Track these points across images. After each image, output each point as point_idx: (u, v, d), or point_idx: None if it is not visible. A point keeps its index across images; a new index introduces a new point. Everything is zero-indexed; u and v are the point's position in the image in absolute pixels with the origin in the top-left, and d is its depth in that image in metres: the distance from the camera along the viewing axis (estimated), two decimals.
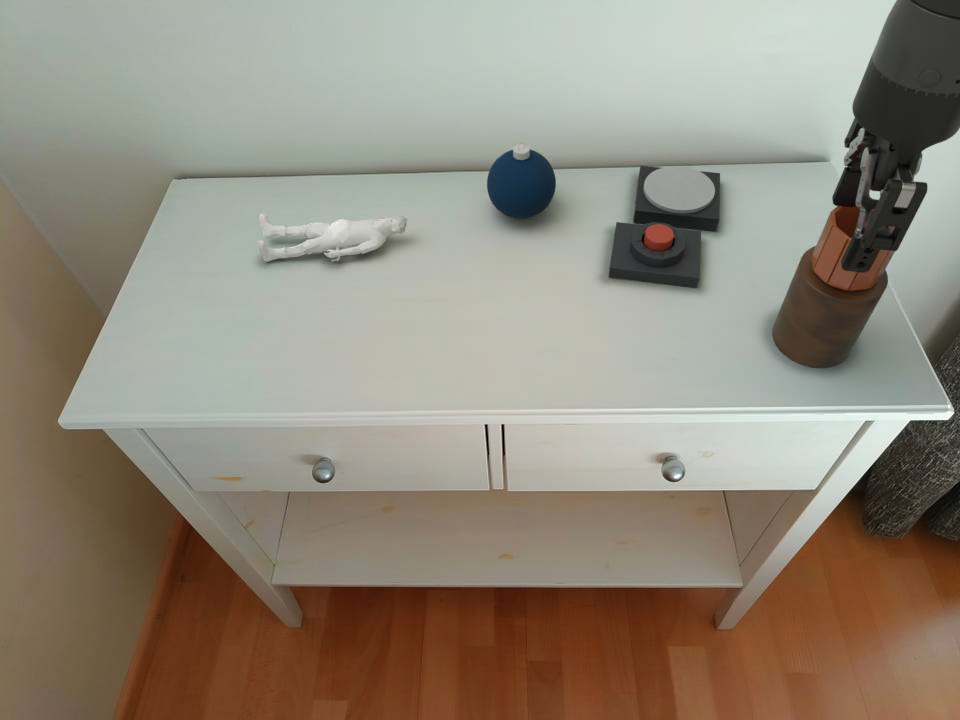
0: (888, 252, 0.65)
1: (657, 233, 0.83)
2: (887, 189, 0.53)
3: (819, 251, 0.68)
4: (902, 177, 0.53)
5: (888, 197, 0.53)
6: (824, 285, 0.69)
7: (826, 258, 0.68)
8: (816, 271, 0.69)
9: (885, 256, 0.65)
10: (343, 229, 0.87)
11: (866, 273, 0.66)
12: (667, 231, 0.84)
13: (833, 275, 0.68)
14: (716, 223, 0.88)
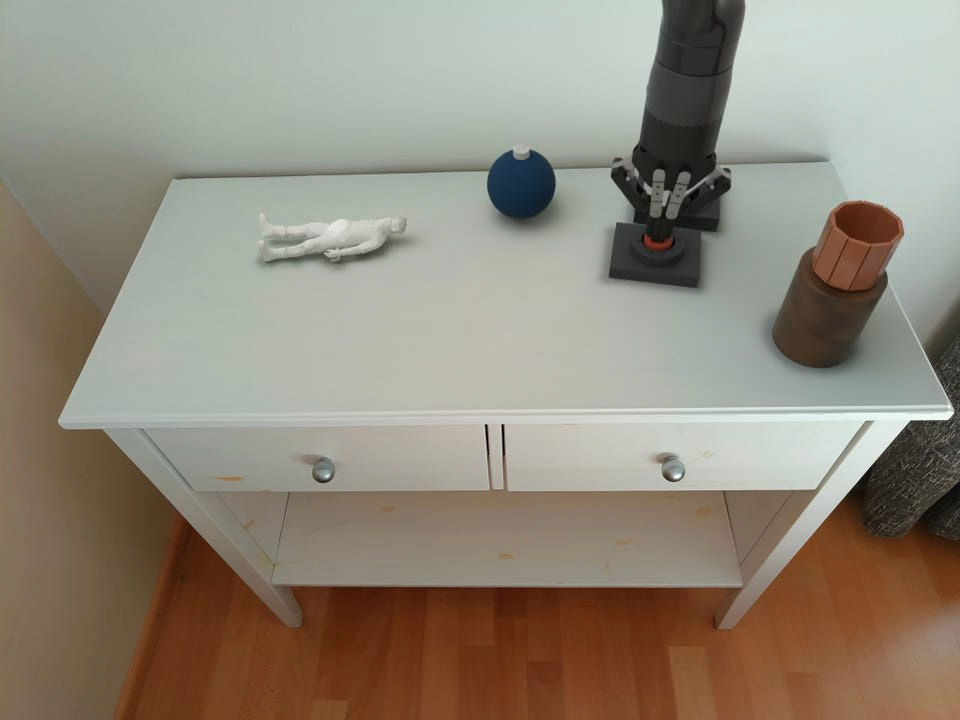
0: (888, 252, 0.65)
1: None
2: None
3: (819, 251, 0.68)
4: (621, 161, 0.77)
5: None
6: (824, 285, 0.69)
7: (826, 258, 0.68)
8: (816, 271, 0.69)
9: (885, 256, 0.65)
10: (343, 229, 0.87)
11: (866, 273, 0.66)
12: None
13: (833, 275, 0.68)
14: (716, 223, 0.88)
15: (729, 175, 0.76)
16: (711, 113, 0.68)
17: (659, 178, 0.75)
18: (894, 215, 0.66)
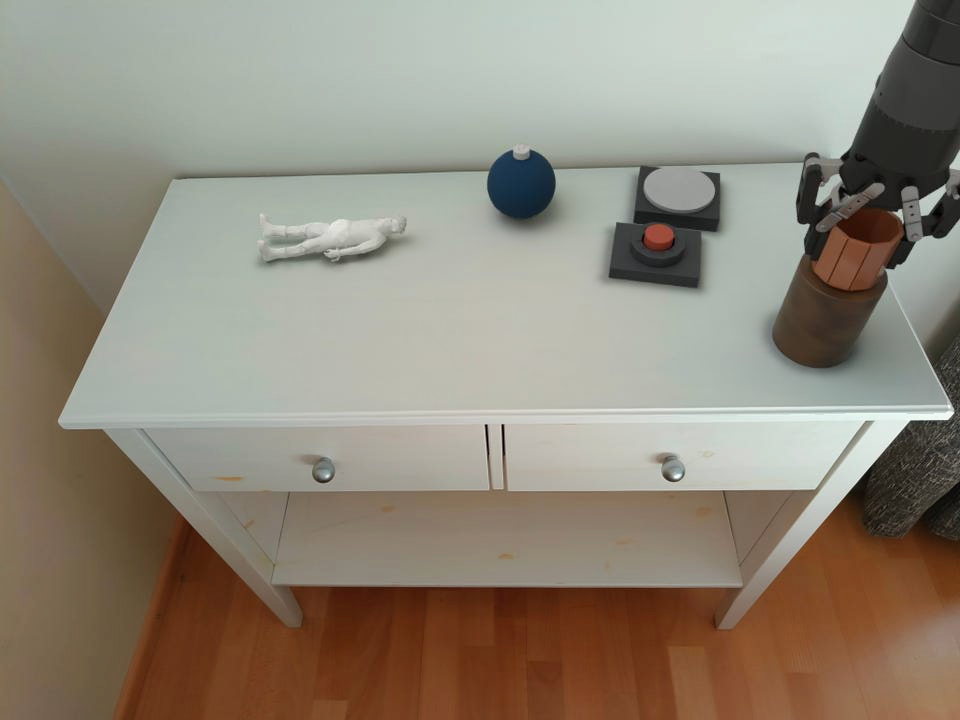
0: (888, 252, 0.65)
1: (657, 233, 0.83)
2: None
3: None
4: (823, 159, 0.62)
5: None
6: (824, 285, 0.69)
7: (826, 258, 0.68)
8: (816, 271, 0.69)
9: (885, 256, 0.65)
10: (343, 229, 0.87)
11: (866, 273, 0.66)
12: (667, 231, 0.84)
13: (833, 275, 0.68)
14: (716, 223, 0.88)
15: None
16: None
17: (871, 193, 0.61)
18: (894, 215, 0.66)
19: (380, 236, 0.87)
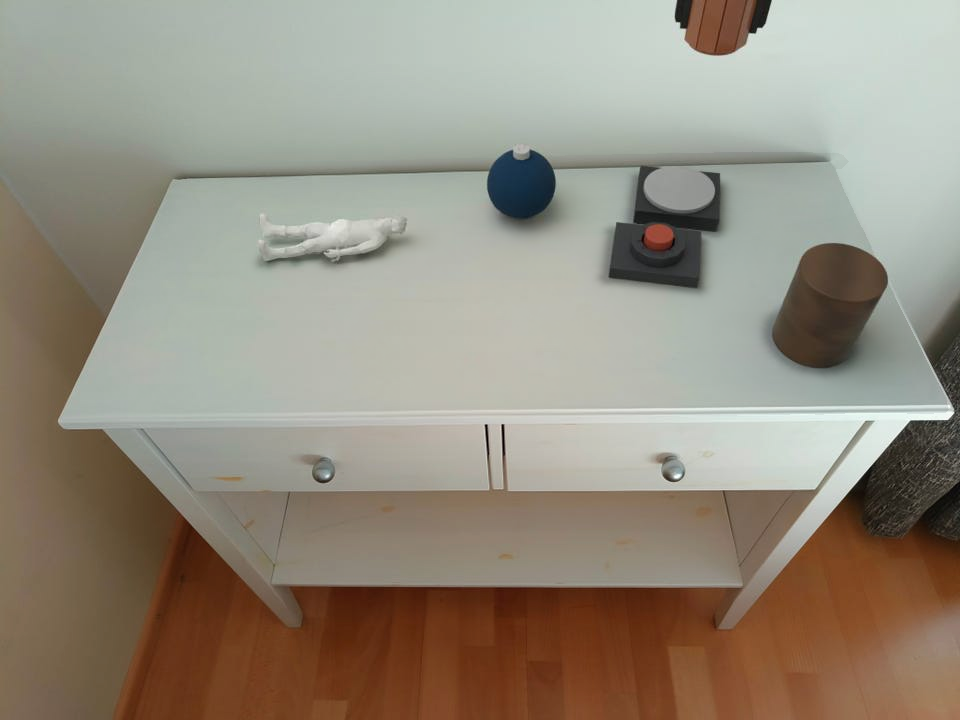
0: (745, 6, 0.70)
1: (657, 233, 0.83)
2: None
3: None
4: None
5: None
6: (824, 285, 0.69)
7: (693, 22, 0.72)
8: (687, 39, 0.74)
9: (743, 11, 0.70)
10: (343, 229, 0.87)
11: (728, 32, 0.71)
12: (667, 231, 0.84)
13: (700, 38, 0.73)
14: (716, 223, 0.88)
15: None
16: None
17: None
18: None
19: (380, 236, 0.87)
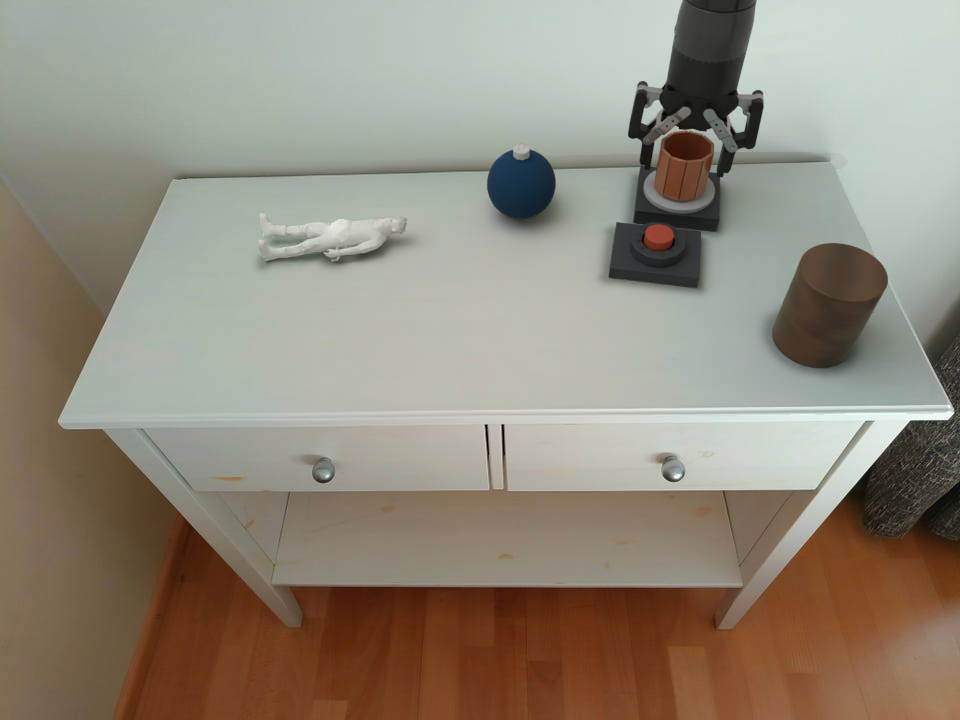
0: (701, 167, 0.85)
1: (657, 233, 0.83)
2: None
3: (656, 170, 0.89)
4: (649, 87, 0.82)
5: None
6: (824, 285, 0.69)
7: (660, 175, 0.88)
8: (655, 187, 0.90)
9: (700, 171, 0.85)
10: (343, 229, 0.87)
11: (688, 185, 0.87)
12: (667, 231, 0.84)
13: (665, 188, 0.88)
14: (716, 223, 0.88)
15: (758, 95, 0.79)
16: (735, 49, 0.73)
17: (681, 115, 0.81)
18: (709, 140, 0.86)
19: (380, 236, 0.87)
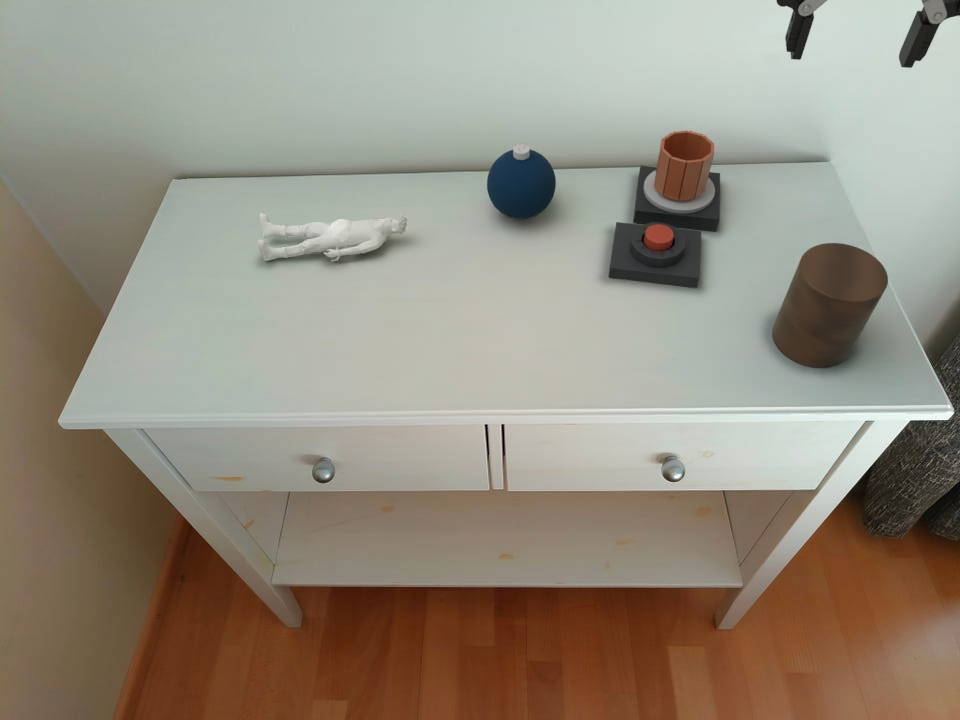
0: (701, 167, 0.85)
1: (657, 233, 0.83)
2: None
3: (656, 170, 0.89)
4: None
5: None
6: (824, 285, 0.69)
7: (660, 175, 0.88)
8: (655, 187, 0.90)
9: (700, 171, 0.85)
10: (343, 229, 0.87)
11: (688, 185, 0.87)
12: (667, 231, 0.84)
13: (665, 188, 0.88)
14: (716, 223, 0.88)
15: None
16: None
17: None
18: (709, 140, 0.86)
19: (380, 236, 0.87)
